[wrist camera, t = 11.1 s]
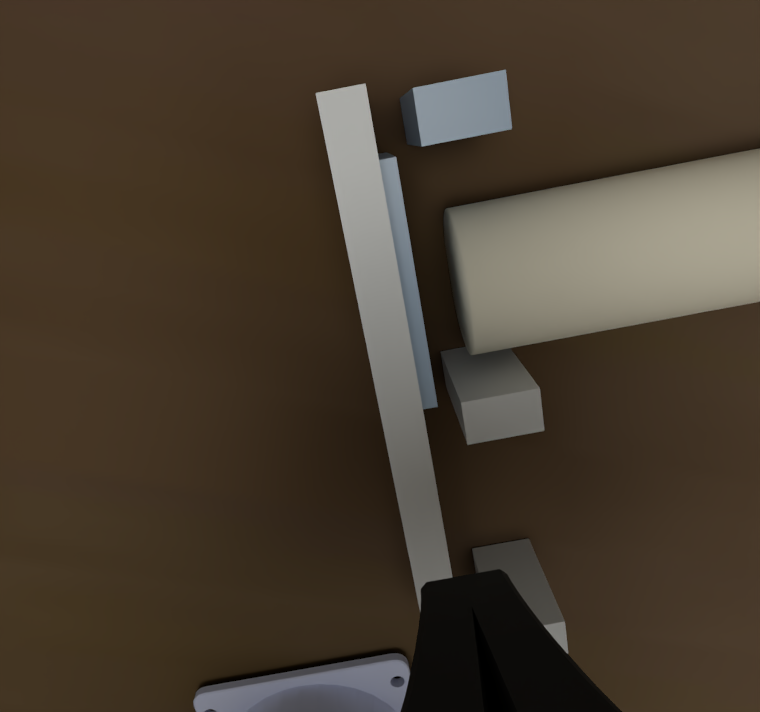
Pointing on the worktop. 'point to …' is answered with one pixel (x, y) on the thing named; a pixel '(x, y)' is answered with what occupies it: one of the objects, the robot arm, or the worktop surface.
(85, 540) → the worktop surface
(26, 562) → the worktop surface
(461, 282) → the tall cream cylinder
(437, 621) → the robot arm
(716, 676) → the worktop surface
